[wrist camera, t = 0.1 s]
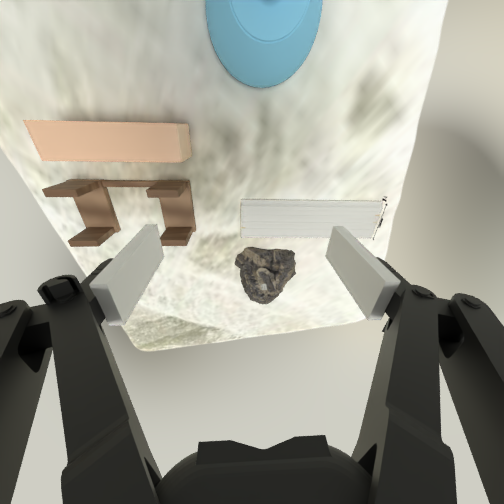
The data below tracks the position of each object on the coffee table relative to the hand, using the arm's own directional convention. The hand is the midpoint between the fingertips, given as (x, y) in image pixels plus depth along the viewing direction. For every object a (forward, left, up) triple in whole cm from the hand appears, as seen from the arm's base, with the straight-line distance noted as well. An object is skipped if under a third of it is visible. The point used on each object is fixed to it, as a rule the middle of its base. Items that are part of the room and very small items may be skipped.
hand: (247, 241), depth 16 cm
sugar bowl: (-20, +3, -28) cm, 35 cm away
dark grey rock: (+25, +7, -29) cm, 39 cm away
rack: (+7, -21, -28) cm, 36 cm away
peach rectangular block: (-5, -19, -28) cm, 34 cm away
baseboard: (+9, +15, -29) cm, 33 cm away
